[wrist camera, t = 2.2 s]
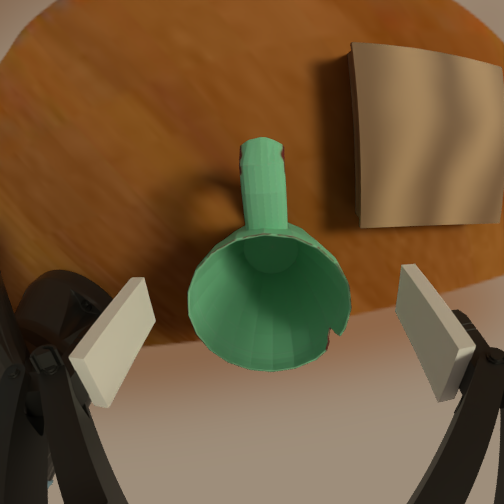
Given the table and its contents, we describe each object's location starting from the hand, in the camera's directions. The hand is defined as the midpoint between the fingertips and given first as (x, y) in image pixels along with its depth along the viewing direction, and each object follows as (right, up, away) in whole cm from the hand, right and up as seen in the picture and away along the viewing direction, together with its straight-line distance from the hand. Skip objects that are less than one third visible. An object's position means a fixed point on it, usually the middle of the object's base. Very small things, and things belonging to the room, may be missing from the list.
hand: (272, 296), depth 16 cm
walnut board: (+14, +12, +7) cm, 20 cm away
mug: (0, +5, +11) cm, 12 cm away
